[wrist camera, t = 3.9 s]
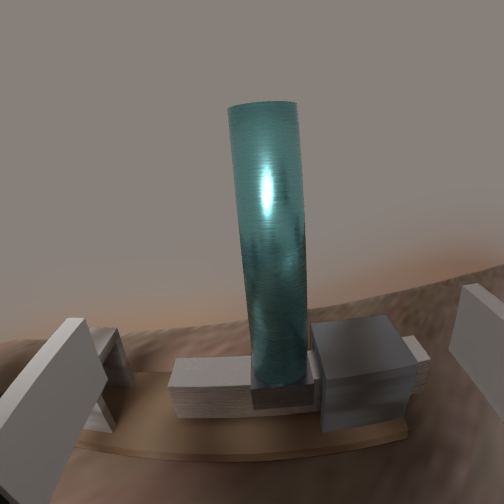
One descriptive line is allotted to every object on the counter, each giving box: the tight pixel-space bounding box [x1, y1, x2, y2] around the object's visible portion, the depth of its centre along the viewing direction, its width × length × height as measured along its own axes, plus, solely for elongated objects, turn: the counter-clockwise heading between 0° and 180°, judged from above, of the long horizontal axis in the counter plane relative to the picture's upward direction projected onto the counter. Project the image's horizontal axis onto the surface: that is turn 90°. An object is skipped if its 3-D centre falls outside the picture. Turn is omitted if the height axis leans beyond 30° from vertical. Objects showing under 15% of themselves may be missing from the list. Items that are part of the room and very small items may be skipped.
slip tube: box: [167, 101, 431, 418], centre depth 19 cm, size 18×4×19 cm, turn 90°
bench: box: [75, 314, 419, 462], centre depth 21 cm, size 26×9×7 cm, turn 90°
